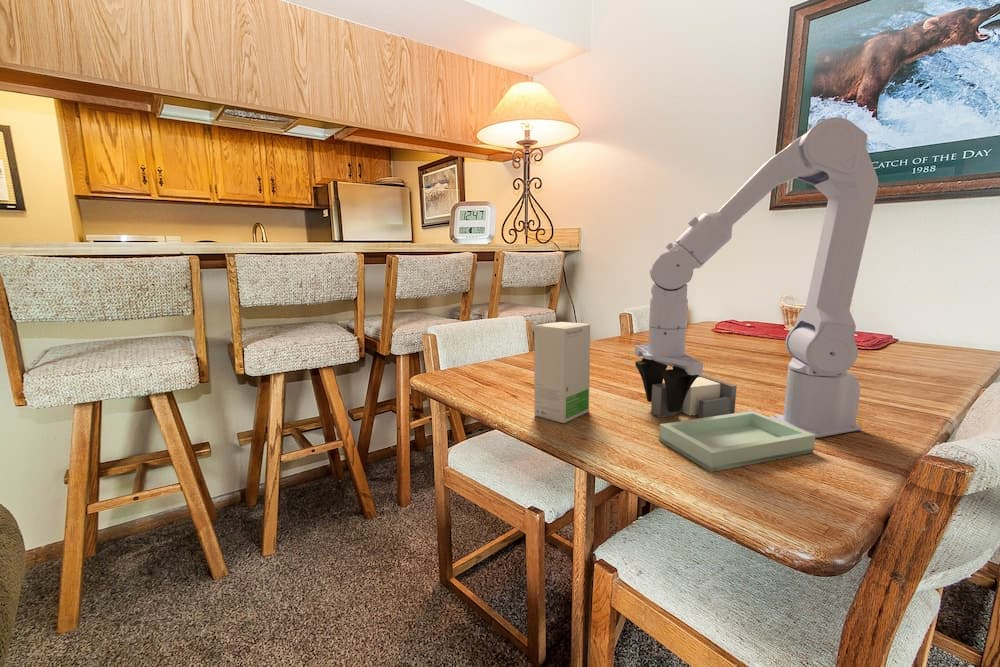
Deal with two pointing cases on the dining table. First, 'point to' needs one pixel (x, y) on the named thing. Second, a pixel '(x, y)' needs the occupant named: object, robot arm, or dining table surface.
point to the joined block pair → (691, 403)
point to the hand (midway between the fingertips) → (663, 405)
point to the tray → (735, 440)
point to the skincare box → (561, 370)
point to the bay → (718, 400)
